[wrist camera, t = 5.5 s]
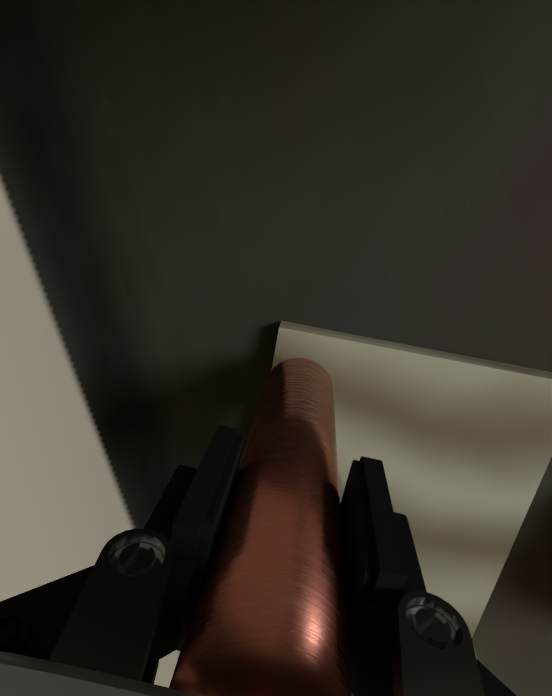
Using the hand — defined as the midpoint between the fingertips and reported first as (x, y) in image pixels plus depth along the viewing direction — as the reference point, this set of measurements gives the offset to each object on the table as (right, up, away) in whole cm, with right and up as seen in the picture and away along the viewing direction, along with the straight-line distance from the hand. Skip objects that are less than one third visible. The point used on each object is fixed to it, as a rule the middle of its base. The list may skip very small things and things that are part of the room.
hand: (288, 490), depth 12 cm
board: (+5, -4, +12) cm, 14 cm away
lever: (+3, -5, +10) cm, 12 cm away
